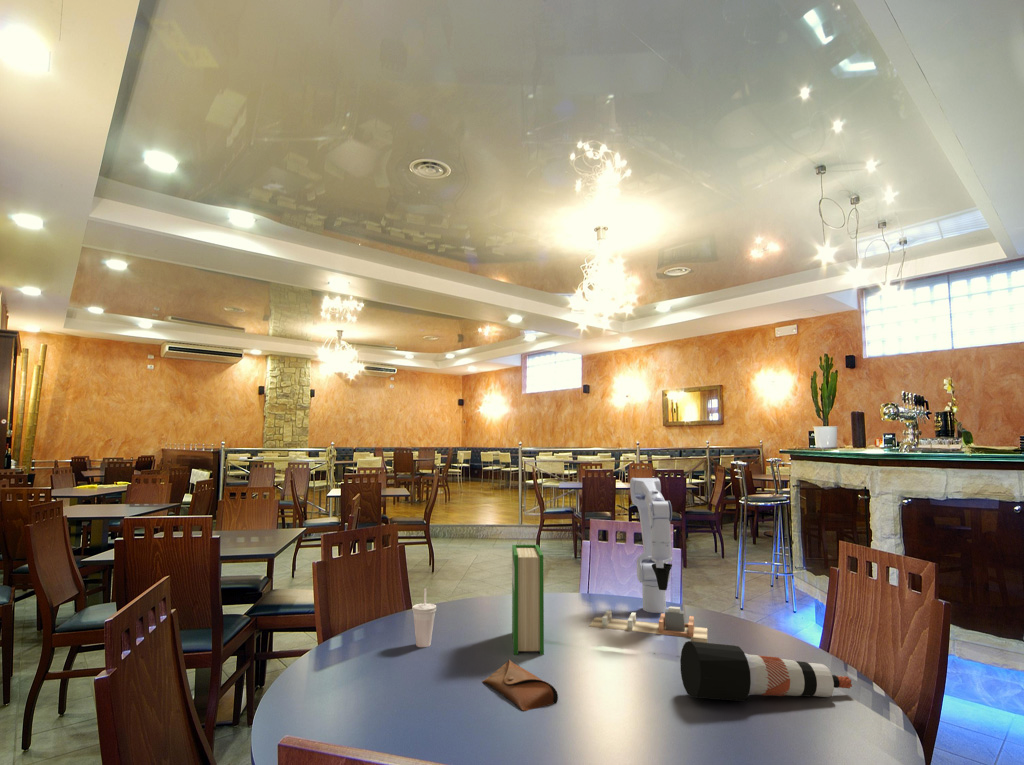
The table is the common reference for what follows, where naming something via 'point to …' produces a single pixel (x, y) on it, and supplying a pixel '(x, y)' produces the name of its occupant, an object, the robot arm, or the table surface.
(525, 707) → the sunglasses case
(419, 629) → the smoothie
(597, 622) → the wooden board with blocks
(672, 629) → the plug
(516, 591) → the hardback book
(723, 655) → the striped tapered cone
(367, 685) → the table surface
